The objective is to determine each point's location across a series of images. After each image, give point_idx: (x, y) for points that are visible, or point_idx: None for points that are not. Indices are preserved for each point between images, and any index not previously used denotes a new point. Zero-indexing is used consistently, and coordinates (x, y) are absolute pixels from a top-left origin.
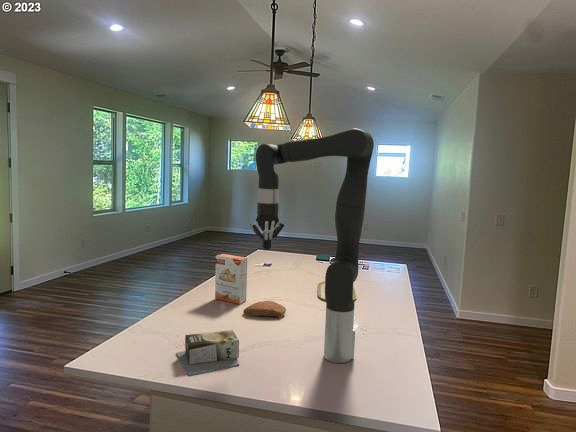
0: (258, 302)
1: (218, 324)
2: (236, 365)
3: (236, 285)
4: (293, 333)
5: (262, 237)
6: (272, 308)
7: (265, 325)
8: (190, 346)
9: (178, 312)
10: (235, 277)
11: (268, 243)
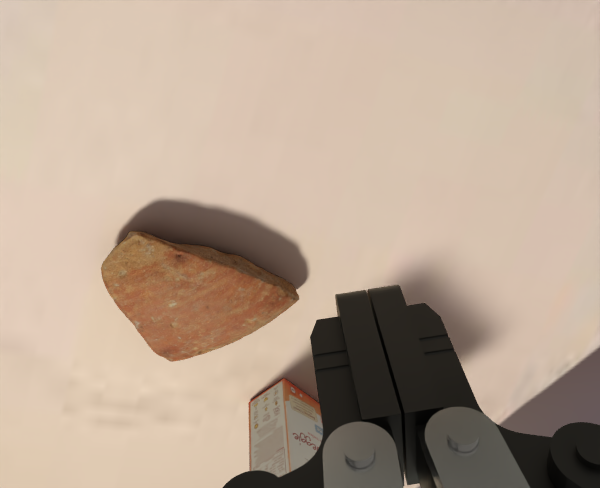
0: (223, 336)
1: (431, 209)
2: None
3: (302, 449)
4: (115, 28)
5: (565, 443)
6: (174, 265)
7: (234, 157)
8: None
9: (528, 341)
10: None
11: (378, 364)
